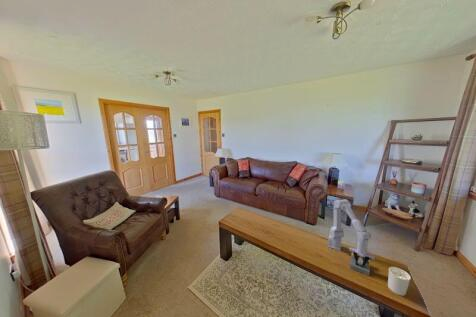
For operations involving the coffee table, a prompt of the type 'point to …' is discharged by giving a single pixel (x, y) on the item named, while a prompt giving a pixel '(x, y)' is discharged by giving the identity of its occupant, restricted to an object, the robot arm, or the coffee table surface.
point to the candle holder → (398, 280)
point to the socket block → (363, 270)
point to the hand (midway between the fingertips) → (360, 263)
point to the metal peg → (360, 261)
